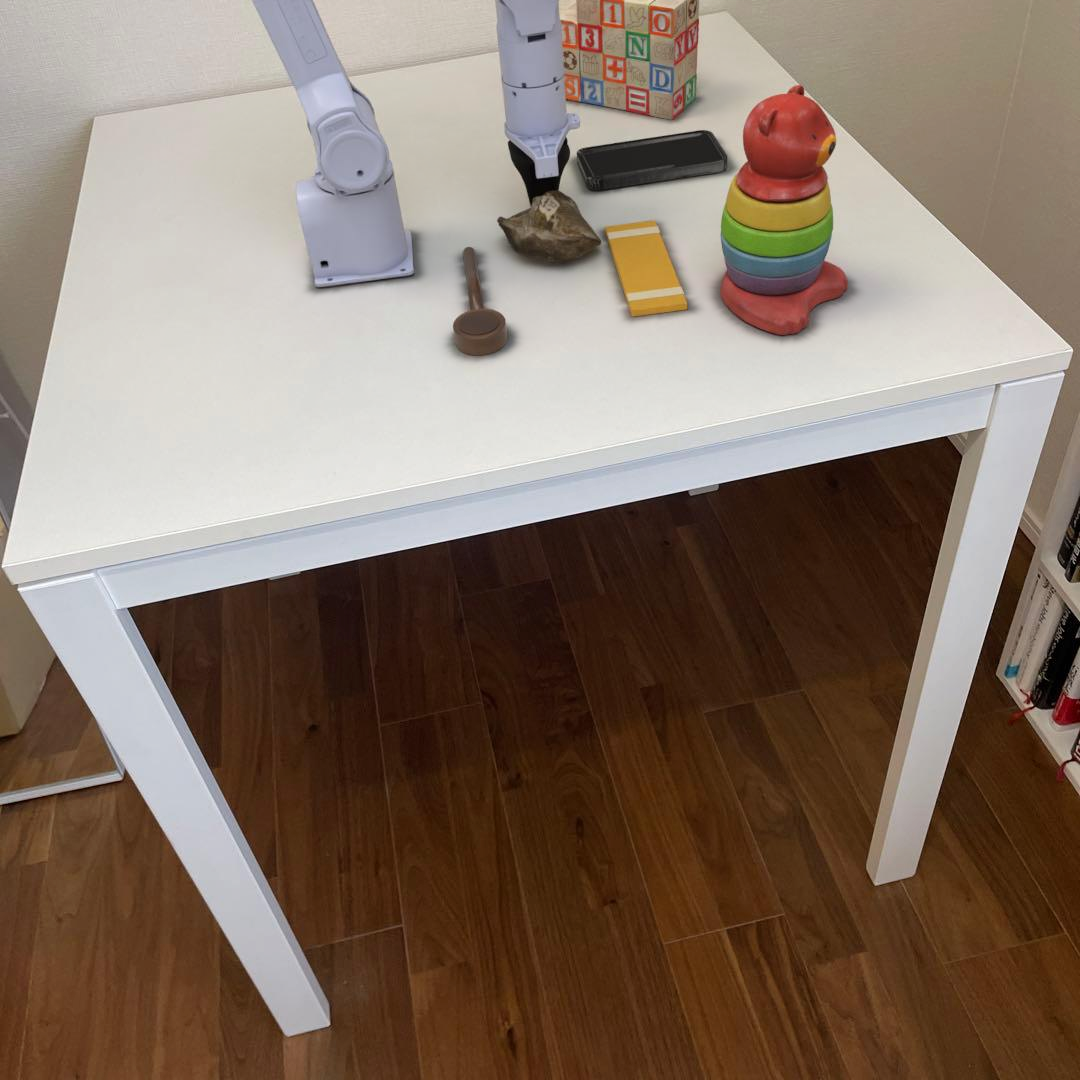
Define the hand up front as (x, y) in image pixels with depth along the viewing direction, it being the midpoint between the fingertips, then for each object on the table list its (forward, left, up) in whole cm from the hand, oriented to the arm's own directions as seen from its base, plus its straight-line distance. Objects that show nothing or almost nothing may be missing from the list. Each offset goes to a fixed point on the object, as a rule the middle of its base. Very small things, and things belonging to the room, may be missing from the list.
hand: (543, 212), depth 109 cm
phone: (+13, +10, -1) cm, 16 cm away
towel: (+8, -10, -1) cm, 13 cm away
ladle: (-8, -12, -1) cm, 15 cm away
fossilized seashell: (0, -5, -2) cm, 5 cm away
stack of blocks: (+11, +29, -2) cm, 31 cm away
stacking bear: (+19, -17, -2) cm, 26 cm away
